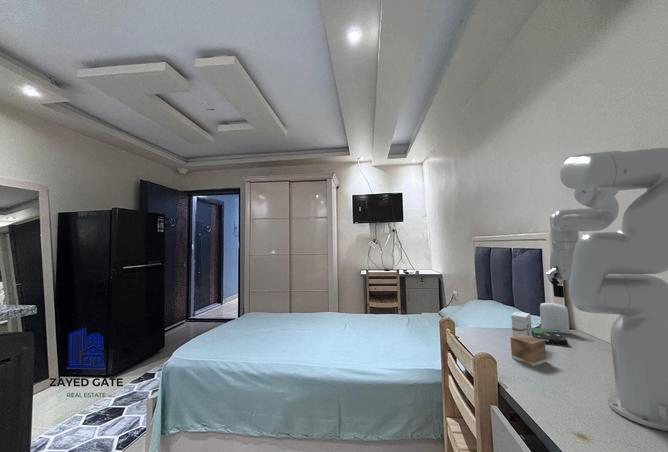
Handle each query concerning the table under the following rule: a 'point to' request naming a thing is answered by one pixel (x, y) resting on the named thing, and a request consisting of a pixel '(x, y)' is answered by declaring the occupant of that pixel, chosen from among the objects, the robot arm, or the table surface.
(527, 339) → the block
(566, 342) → the disk drive
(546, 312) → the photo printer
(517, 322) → the ink box
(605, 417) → the table surface
